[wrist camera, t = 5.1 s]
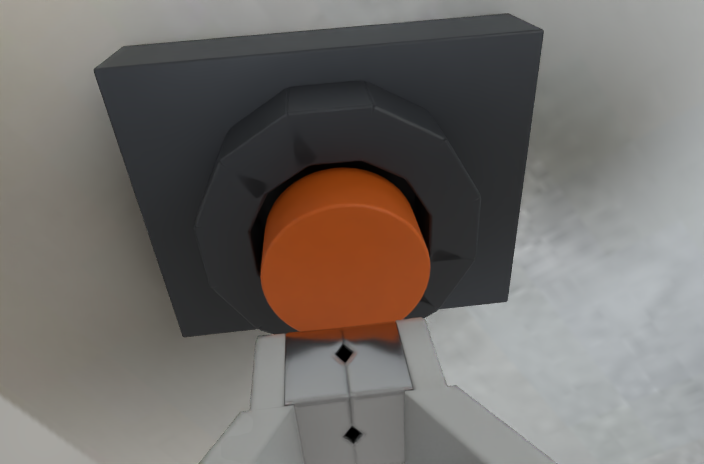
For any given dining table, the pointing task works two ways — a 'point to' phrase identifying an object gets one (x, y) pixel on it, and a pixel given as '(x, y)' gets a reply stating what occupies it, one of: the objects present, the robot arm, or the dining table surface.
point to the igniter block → (325, 148)
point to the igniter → (342, 252)
